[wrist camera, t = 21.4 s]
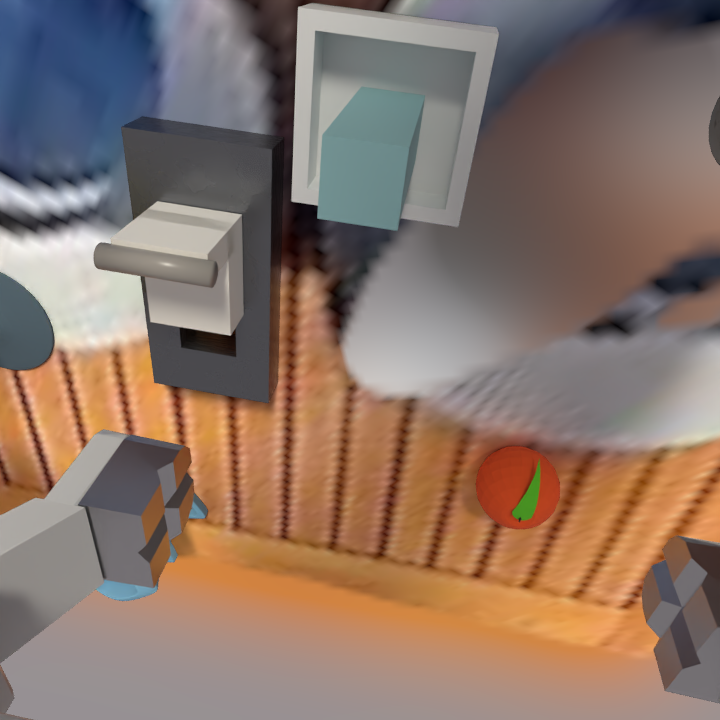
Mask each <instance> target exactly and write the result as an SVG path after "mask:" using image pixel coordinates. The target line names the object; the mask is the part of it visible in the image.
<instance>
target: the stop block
mask: <svg viewBox="0 0 720 720" xmlns="http://www.w3.org/2000/svg"><path fill="white" fill-rule="evenodd" d="M424 101H425V95H420V94H412V93H405V92H398V91H391V90H383V89H376V88H369V87H362V86H361V88H360V89H359V90H358V91H357V93H356V94H355V95H354V96H353V98H352V99H351V100H350V101H349V102H348V104H347V105H346V106H345V107H344V109H343V110H342V111H341V112H340V114H339V115H338V116H337V117H336V119H335V120H334V121H333V122H332V123H331V125H330V126H329V127H328V128H327V130H326V131H325V132H324V133H323V135H322V146H321V163H320V180H319V197H318V214H317V219H324V220H330V221H337V222H343V223H350V224H356V225H362V226H369V227H375V228H382V229H388V230H395V231H397V230H398V226H399V222H400V219H401V215H402V211H403V207H404V203H405V199H406V195H407V191H408V188H409V184H410V180H411V176H412V172H413V168H414V164H415V160H416V154H417V147H418V141H419V134H420V128H421V121H422V114H423V108H424Z"/></svg>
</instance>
